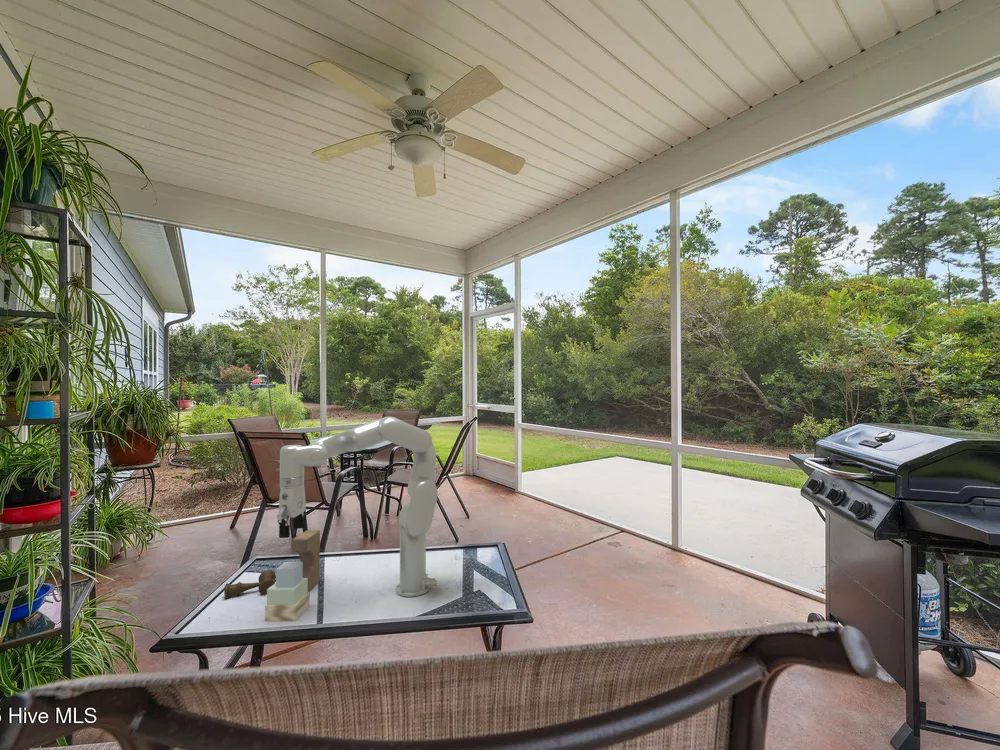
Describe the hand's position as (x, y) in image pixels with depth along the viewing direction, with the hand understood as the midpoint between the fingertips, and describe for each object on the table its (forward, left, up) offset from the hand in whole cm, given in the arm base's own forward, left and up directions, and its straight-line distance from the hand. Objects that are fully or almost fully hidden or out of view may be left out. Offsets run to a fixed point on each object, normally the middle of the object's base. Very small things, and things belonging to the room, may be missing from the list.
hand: (291, 532), depth 146 cm
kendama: (+21, -15, -27) cm, 37 cm away
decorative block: (+3, -18, -27) cm, 33 cm away
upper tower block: (+1, +1, -22) cm, 22 cm away
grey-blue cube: (0, 0, -17) cm, 17 cm away
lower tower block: (+1, +1, -27) cm, 27 cm away
